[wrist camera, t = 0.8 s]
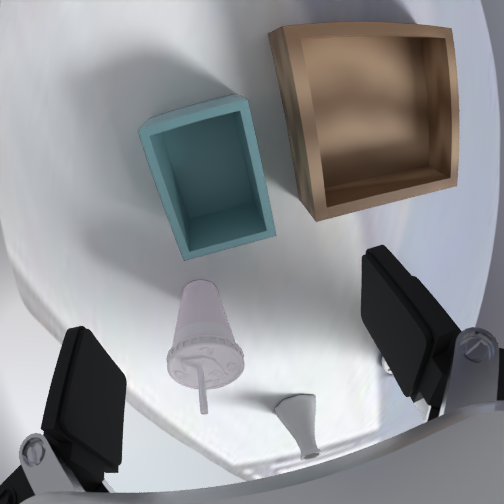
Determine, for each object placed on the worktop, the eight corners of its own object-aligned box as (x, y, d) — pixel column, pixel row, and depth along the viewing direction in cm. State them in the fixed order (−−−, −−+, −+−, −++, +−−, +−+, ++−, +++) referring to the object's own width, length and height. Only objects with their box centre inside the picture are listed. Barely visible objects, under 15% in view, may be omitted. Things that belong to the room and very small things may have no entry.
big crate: (430, 169, 29) (456, 186, 25) (299, 199, 29) (316, 221, 25) (420, 28, 21) (451, 28, 17) (268, 33, 20) (282, 26, 17)
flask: (310, 412, 51) (325, 460, 42) (270, 417, 49) (283, 468, 41) (321, 390, 47) (340, 442, 39) (278, 395, 46) (293, 451, 37)
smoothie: (193, 257, 30) (199, 380, 18) (243, 288, 33) (272, 405, 21) (157, 299, 32) (150, 419, 20) (206, 325, 35) (219, 438, 23)
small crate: (260, 203, 28) (276, 235, 23) (185, 224, 28) (184, 260, 23) (235, 93, 23) (247, 99, 18) (150, 117, 23) (137, 130, 18)
